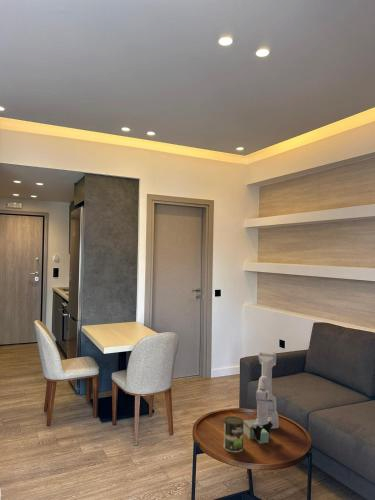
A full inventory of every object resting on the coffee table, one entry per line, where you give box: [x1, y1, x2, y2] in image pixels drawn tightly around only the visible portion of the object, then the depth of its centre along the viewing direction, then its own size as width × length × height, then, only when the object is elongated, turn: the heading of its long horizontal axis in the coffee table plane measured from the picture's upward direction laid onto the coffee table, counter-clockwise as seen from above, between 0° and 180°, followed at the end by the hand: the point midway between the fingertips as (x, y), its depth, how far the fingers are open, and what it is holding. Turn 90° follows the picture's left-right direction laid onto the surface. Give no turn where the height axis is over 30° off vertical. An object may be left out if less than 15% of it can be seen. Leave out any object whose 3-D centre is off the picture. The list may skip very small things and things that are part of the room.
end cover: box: [254, 428, 270, 445], centre depth 202 cm, size 5×10×5 cm, turn 15°
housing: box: [243, 418, 264, 440], centre depth 208 cm, size 11×10×6 cm
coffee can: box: [223, 416, 244, 453], centre depth 192 cm, size 10×10×14 cm
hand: (262, 438), depth 199 cm, fingers open, 7 cm apart
